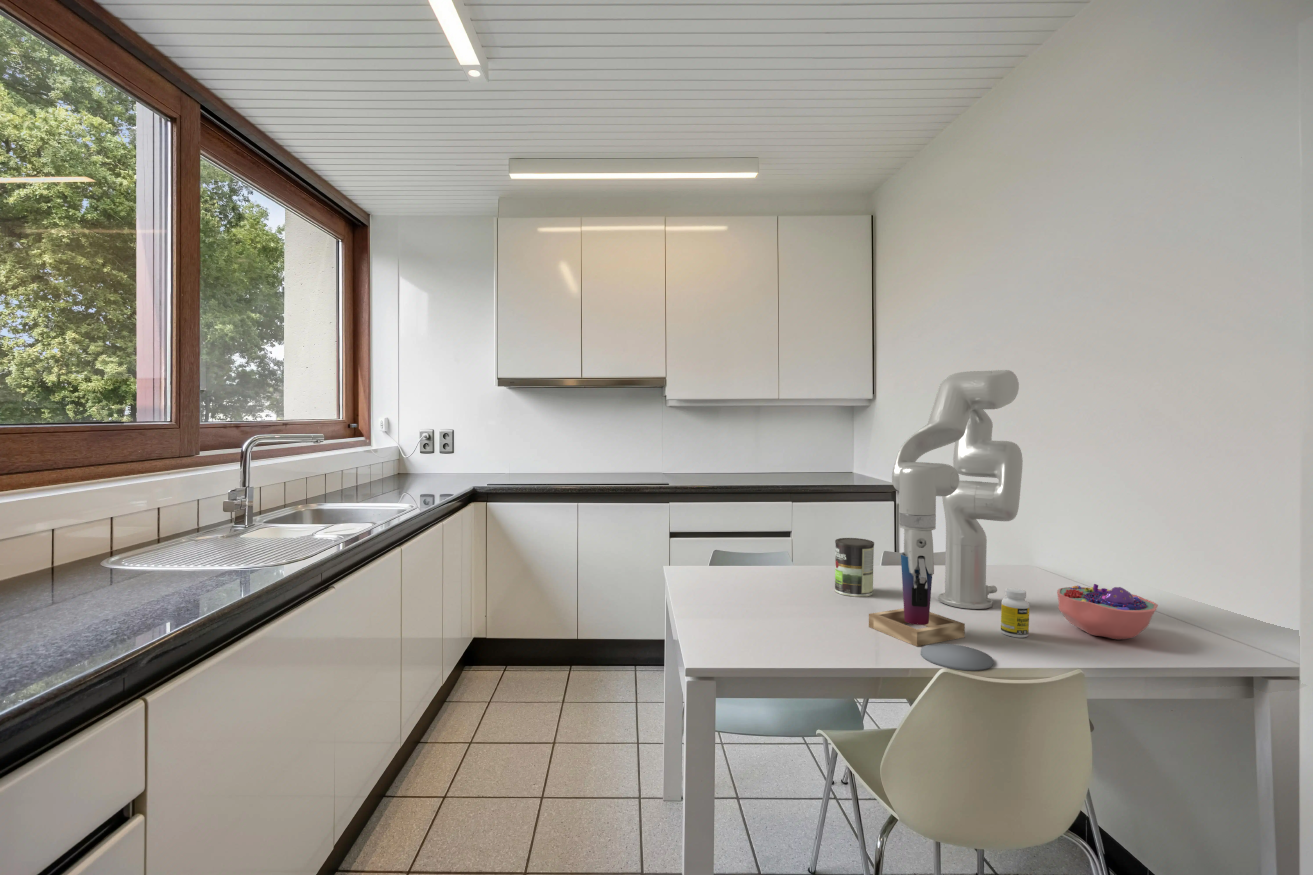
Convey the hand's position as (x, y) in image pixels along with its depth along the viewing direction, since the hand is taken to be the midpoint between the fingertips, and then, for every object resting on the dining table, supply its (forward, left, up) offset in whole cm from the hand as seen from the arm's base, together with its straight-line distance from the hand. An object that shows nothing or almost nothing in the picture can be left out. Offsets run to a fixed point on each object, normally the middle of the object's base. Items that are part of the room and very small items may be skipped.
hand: (916, 600), depth 143 cm
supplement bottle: (-19, +10, -7) cm, 22 cm away
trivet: (+5, +15, -7) cm, 17 cm away
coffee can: (-11, -32, -7) cm, 34 cm away
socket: (0, 0, -7) cm, 7 cm away
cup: (0, 0, -5) cm, 5 cm away
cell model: (-37, +18, -7) cm, 41 cm away
